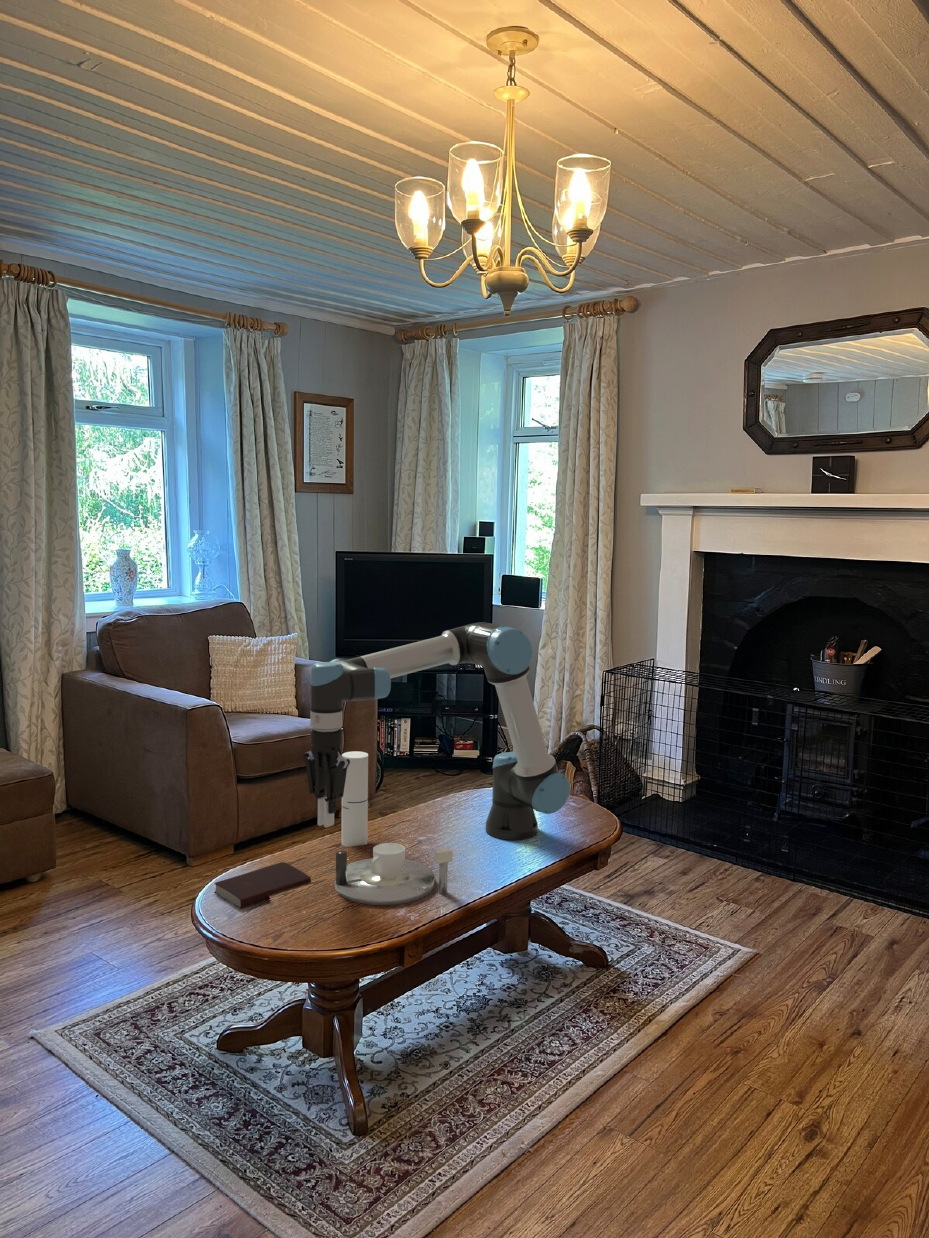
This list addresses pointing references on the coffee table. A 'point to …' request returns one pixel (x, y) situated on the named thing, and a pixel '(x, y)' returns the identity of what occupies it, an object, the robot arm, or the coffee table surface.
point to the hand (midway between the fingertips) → (325, 824)
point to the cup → (388, 860)
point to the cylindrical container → (355, 800)
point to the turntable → (381, 882)
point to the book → (260, 884)
